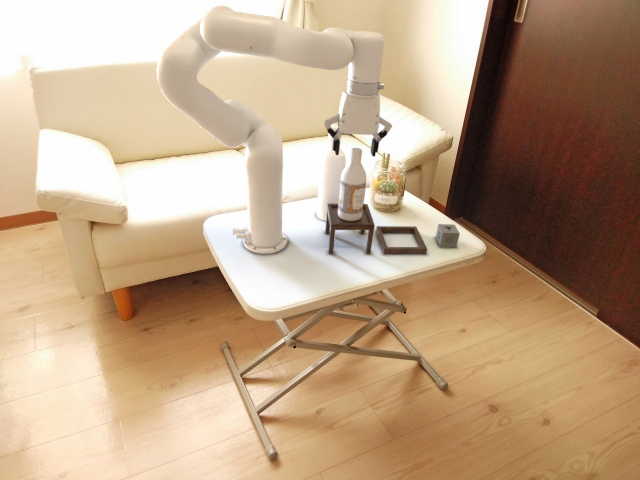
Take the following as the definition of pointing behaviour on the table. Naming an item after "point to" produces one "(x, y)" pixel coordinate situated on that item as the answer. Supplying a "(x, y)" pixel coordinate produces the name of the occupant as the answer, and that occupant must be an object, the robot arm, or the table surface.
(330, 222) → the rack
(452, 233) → the dice cube
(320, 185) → the bottle
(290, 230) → the table surface
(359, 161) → the bath foam
